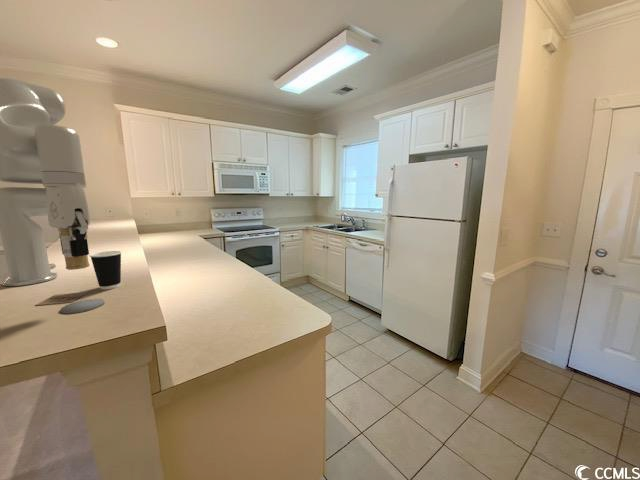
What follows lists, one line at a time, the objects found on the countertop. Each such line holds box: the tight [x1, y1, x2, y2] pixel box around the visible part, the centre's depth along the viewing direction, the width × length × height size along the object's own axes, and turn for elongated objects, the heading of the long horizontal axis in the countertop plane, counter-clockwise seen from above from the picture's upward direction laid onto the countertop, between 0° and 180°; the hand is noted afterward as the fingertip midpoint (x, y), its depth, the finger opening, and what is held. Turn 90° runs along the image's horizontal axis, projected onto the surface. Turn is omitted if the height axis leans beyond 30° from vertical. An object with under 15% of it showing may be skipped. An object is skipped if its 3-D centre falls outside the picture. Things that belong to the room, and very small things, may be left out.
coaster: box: [60, 298, 105, 315], centre depth 68 cm, size 8×8×1 cm
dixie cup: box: [88, 250, 123, 290], centre depth 82 cm, size 8×8×11 cm
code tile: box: [34, 291, 89, 307], centre depth 73 cm, size 8×8×1 cm
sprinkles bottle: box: [60, 225, 90, 271], centre depth 65 cm, size 5×5×13 cm
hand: (75, 254), depth 66 cm, fingers closed on sprinkles bottle, 4 cm apart
